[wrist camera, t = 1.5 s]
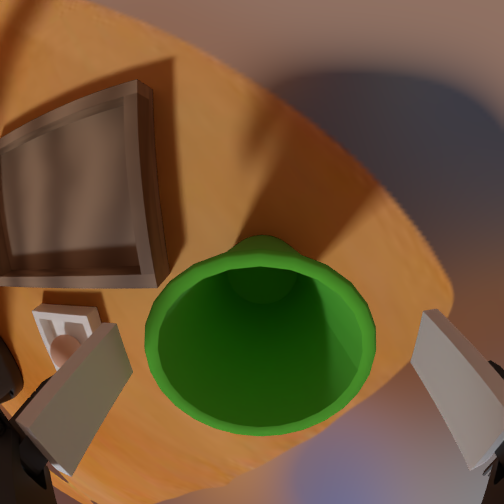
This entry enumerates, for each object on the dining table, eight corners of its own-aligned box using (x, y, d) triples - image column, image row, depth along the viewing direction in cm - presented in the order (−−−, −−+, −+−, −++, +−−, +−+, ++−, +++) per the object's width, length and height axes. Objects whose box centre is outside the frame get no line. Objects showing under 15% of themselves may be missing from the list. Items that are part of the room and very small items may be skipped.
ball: (69, 355, 23) (52, 374, 20) (58, 326, 22) (38, 344, 19) (94, 359, 23) (77, 380, 20) (82, 329, 22) (63, 349, 19)
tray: (14, 276, 22) (-2, 285, 19) (-4, 151, 18) (-22, 152, 15) (169, 273, 21) (157, 287, 18) (152, 89, 17) (137, 79, 14)
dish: (66, 365, 25) (58, 374, 23) (41, 303, 22) (31, 310, 21) (120, 375, 24) (113, 386, 22) (96, 307, 22) (86, 316, 20)
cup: (205, 199, 19) (136, 235, 8) (334, 216, 19) (409, 268, 8) (198, 315, 21) (153, 419, 11) (311, 328, 21) (339, 438, 11)
